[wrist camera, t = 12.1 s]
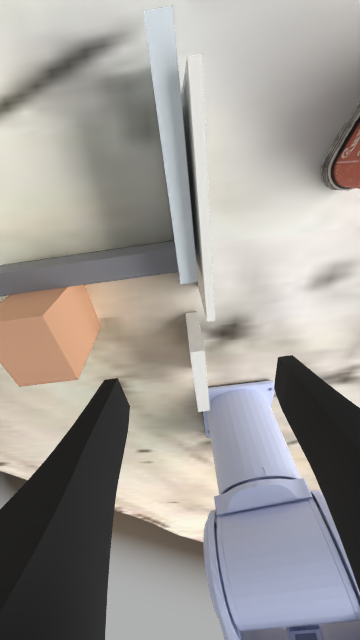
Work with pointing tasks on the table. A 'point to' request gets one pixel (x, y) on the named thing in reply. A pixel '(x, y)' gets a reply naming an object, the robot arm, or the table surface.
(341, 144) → the lighter
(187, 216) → the sliding door
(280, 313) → the table surface
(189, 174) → the white thin slab
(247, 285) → the table surface
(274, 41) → the table surface
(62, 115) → the table surface
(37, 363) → the block
